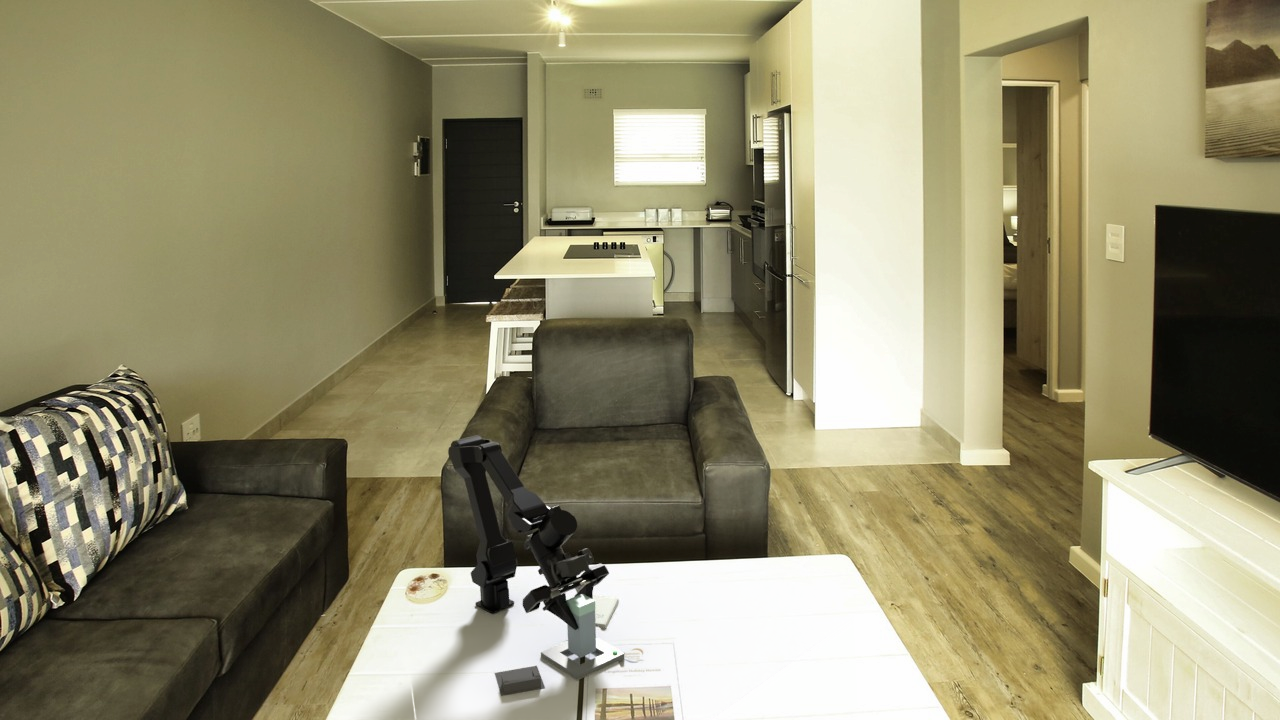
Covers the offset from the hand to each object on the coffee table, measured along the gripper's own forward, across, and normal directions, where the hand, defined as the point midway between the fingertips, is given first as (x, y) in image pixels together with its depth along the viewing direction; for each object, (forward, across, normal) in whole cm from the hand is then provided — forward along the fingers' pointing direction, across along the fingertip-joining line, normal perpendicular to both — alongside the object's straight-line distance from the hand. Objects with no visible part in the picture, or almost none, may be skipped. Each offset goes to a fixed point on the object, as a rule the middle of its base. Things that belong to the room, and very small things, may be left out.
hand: (585, 625), depth 186 cm
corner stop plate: (+4, -14, +8) cm, 17 cm away
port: (+5, 0, +7) cm, 8 cm away
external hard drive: (-4, +14, +17) cm, 22 cm away
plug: (+3, 0, +5) cm, 6 cm away
